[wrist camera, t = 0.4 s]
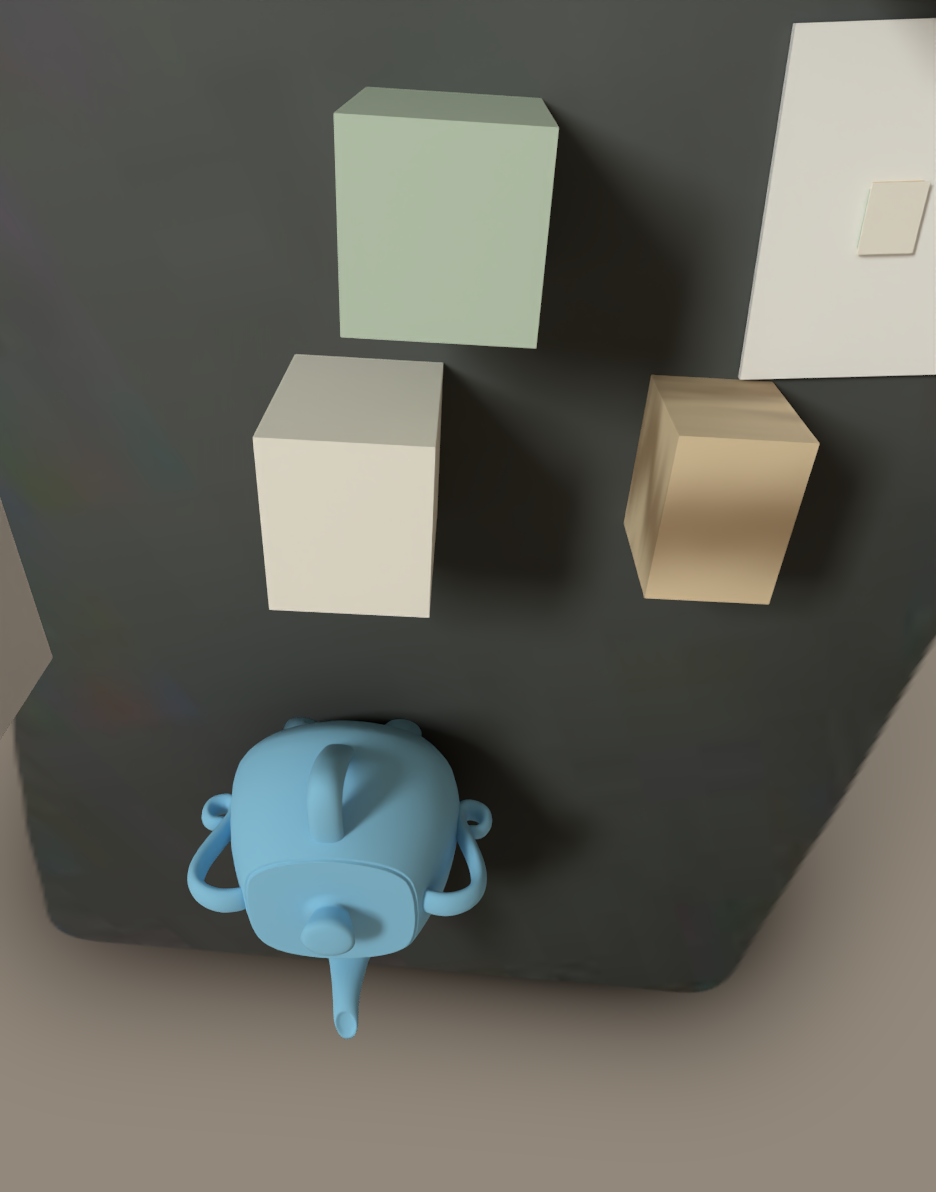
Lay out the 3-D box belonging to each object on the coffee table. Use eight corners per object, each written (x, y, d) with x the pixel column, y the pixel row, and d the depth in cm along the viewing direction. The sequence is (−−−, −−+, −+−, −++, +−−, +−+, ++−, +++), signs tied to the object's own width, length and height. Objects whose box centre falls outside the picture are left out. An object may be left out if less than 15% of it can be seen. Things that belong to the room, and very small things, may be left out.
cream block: (295, 353, 35) (252, 437, 28) (443, 362, 35) (435, 447, 28) (304, 505, 39) (269, 609, 32) (437, 512, 39) (429, 617, 32)
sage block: (366, 86, 29) (333, 112, 23) (541, 98, 29) (558, 127, 23) (368, 268, 33) (340, 337, 26) (525, 278, 33) (536, 348, 26)
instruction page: (793, 23, 28) (798, 23, 28) (1073, 12, 28) (1083, 13, 27) (738, 377, 35) (741, 382, 34) (962, 371, 35) (969, 376, 34)
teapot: (364, 639, 44) (322, 804, 34) (533, 799, 49) (537, 978, 40) (203, 749, 48) (127, 920, 39) (374, 883, 54) (343, 1060, 45)
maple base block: (651, 374, 35) (679, 435, 30) (772, 380, 35) (819, 443, 30) (623, 522, 39) (644, 598, 34) (732, 528, 39) (768, 604, 34)
